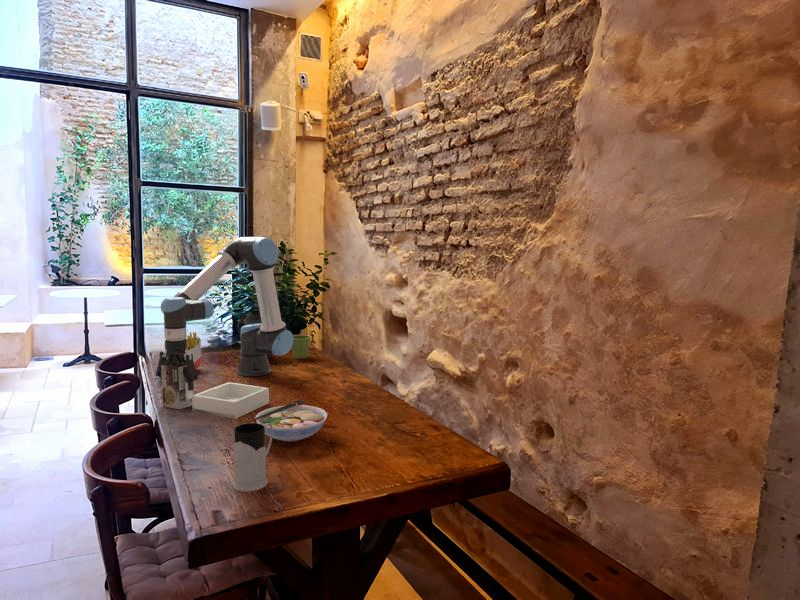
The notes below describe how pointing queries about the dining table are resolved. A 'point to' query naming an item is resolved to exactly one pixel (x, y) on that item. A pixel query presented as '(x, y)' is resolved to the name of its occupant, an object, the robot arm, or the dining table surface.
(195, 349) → the french fries container
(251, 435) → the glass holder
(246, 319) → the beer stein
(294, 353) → the plant pot
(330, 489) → the dining table surface
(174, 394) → the coffee box
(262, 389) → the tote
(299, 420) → the ramen bowl
